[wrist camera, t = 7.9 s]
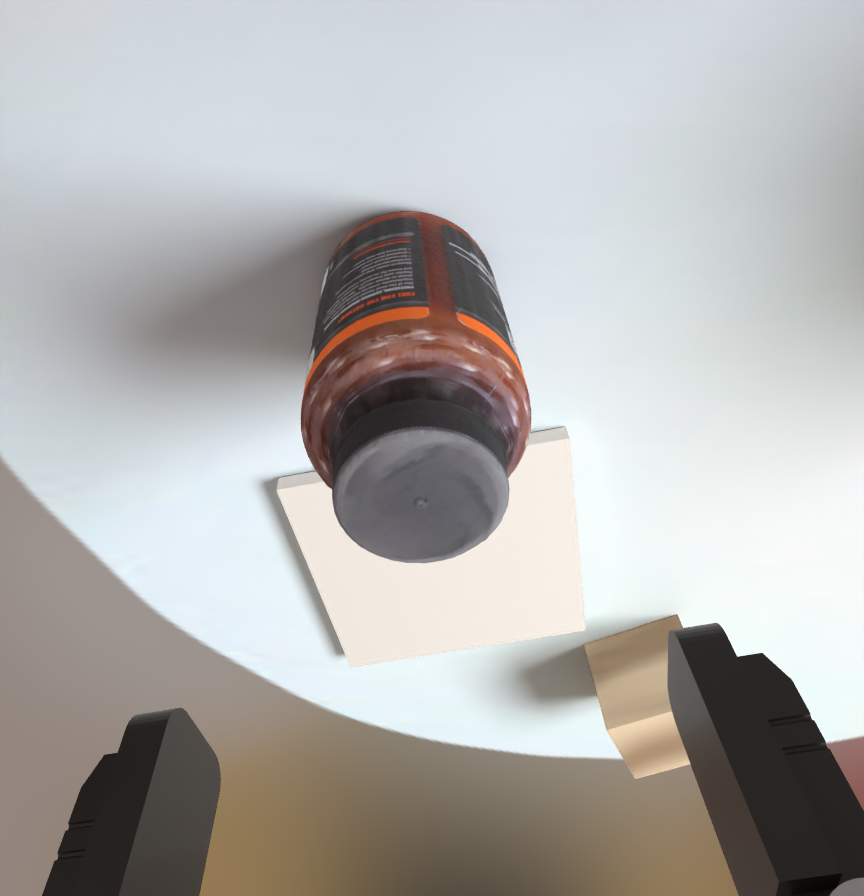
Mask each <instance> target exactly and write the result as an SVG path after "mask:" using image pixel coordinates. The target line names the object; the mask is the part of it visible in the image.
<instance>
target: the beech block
mask: <svg viewBox="0 0 864 896" xmlns="http://www.w3.org/2000/svg"><path fill="white" fill-rule="evenodd" d="M682 628H683V627H682V625H681V622H680V620H679V617H678V615H677V614H676V615H673V616H670V617H667V618H664V619H661V620H658V621H655V622H652V623H649V624H645V625H642V626H639V627H636V628H633V629H630V630H627V631H624V632H621V633H617V634H614V635H611V636H608V637H605V638H602V639H599V640H596V641H593V642H589V643H586V644H584V647H585V651H586V655H587V658H588V662H589V666H590V670H591V673H592V677H593V681H594V685H595V688H596V692H597V696H598V700H599V703H600V707H601V711H602V714H603V718H604V722H605V726H606V729H607V732H608V733H609V735H610V737H611V738H612V740H613V742H614V744H615V745H616V747H617V749H618V750H619V752H620V754H621V756H622V757H623V759H624V761H625V763H626V764H627V766H628V768H629V769H630V771H631V773H632V775H633V776H634V778H635V779H637V778H641V777H644V776H648V775H652V774H656V773H659V772H663V771H667V770H670V769H674V768H678V767H681V766H685V765H688V764H690V761H689V759H688V756H687V753H686V750H685V748H684V745H683V742H682V740H681V737H680V734H679V731H678V729H677V726H676V723H675V720H674V717H673V713H672V709H671V705H670V701H669V695H668V687H667V677H668V634H669V631H670V630H675V629H682Z"/></svg>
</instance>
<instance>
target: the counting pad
mask: <svg viewBox="0 0 864 896" xmlns="http://www.w3.org/2000/svg"><path fill="white" fill-rule="evenodd" d="M508 481H509V490H510V491H509V501H508V507H507V509H506V512H505V514H504V516H503V519H502V521H501V523H500V524H499V525H498V527H497V528H496V529H495V530H494V531H493V533H491V534H490V535H489V537H488V538H487V539H486V540H485V541H483V542H481V543H480V544H479V545H477V546H476V547H474V548H472V549H470V550H469V551H467V552H465V553H463V554H461V555H459V556H456V557H454V558H450V559H447V560H443V561H436V562H430V563H405V562H399V561H392V560H389V559H386V558H383V557H380V556H377V555H375V554H373V553H371V552H369V551H367V550H365V549H364V548H362V547H360V546H359V545H358V544H357V543H355V542H354V541H353V540H352V539H351V538H350V537H349V536H348V535H347V534H346V533H345V531H344V530H343V528H342V527H341V526H340V524H339V522H338V520H337V518H336V515H335V513H334V507H333V500H332V489H331V488H329V487H328V486H327V485H326V484H325V483H324V481H323V480H322V479H321V477H320V476H319V475H318V473H317V472H316V471H314V472H308V473H303V474H297V475H291V476H286V477H280V478H279V479H278V484H277V488H276V491H277V493H278V496H279V498H280V500H281V503H282V505H283V508H284V510H285V512H286V515H287V517H288V519H289V522H290V524H291V527H292V529H293V531H294V534H295V536H296V538H297V541H298V543H299V546H300V548H301V550H302V553H303V555H304V557H305V560H306V562H307V565H308V567H309V569H310V572H311V574H312V577H313V579H314V581H315V584H316V586H317V588H318V591H319V593H320V596H321V598H322V600H323V603H324V605H325V607H326V610H327V612H328V615H329V617H330V619H331V622H332V624H333V626H334V629H335V631H336V634H337V636H338V638H339V641H340V643H341V646H342V648H343V650H344V653H345V655H346V657H347V660H348V662H349V665H350V667H355V666H362V665H368V664H375V663H381V662H387V661H394V660H400V659H407V658H413V657H419V656H426V655H432V654H439V653H445V652H451V651H458V650H464V649H471V648H477V647H484V646H490V645H496V644H503V643H509V642H516V641H522V640H528V639H535V638H541V637H548V636H554V635H560V634H567V633H573V632H580V631H586V624H585V613H584V601H583V589H582V578H581V566H580V554H579V542H578V531H577V519H576V507H575V496H574V484H573V472H572V461H571V449H570V438H569V435H568V432H567V429H566V427H561V428H556V429H550V430H545V431H539V432H533V433H530V435H529V440H528V444H527V447H526V449H525V452H524V454H523V456H522V459H521V460H520V462H519V464H518V466H517V468H516V469H515V471H514V472H513V473H512V474H511V476H510V477H509V478H508Z"/></svg>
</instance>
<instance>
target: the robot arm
mask: <svg viewBox="0 0 864 896" xmlns="http://www.w3.org/2000/svg"><path fill="white" fill-rule="evenodd" d="M667 687H668V695H669V701H670V705H671V709H672V713H673V717H674V720H675V723H676V726H677V729H678V731H679V734H680V737H681V740H682V742H683V745H684V748H685V750H686V753H687V756H688V759H689V761H690V764H691V766H692V769H693V772H694V775H695V778H696V780H697V783H698V786H699V788H700V791H701V794H702V796H703V799H704V802H705V805H706V807H707V810H708V813H709V816H710V818H711V821H712V824H713V826H714V829H715V832H716V835H717V837H718V840H719V843H720V845H721V848H722V851H723V854H724V856H725V859H726V862H727V864H728V867H729V870H730V873H731V875H732V878H733V881H734V883H735V886H736V889H737V892H738V894H739V896H864V811H863V809H862V807H861V805H860V803H859V802H858V800H857V798H856V796H855V794H854V793H853V791H852V789H851V787H850V785H849V783H848V781H847V780H846V778H845V776H844V774H843V772H842V771H841V769H840V767H839V765H838V763H837V762H836V760H835V758H834V756H833V754H832V752H831V751H830V749H828V748H827V746H826V741H825V739H824V738H823V736H822V734H821V732H820V730H819V729H818V727H817V725H816V723H815V721H814V720H812V719H811V716H810V712H809V710H808V708H807V707H806V705H805V703H804V701H803V699H802V697H801V696H800V694H799V692H798V690H797V688H796V687H795V685H794V683H793V681H792V680H791V679H790V678H789V677H788V676H787V675H786V674H785V673H784V672H783V671H782V670H780V669H779V668H778V667H777V666H776V665H775V664H774V663H773V662H772V661H770V660H769V659H768V658H767V657H766V656H765V655H764V654H763V653H759V654H752V655H746V656H740V657H737V656H736V654H735V652H734V650H733V648H732V645H731V643H730V641H729V639H728V637H727V635H726V633H725V632H724V630H723V628H722V627H721V626H720V625H719V624H718V623H713V624H706V625H700V626H694V627H688V628H682V629H675V630H670V631H669V634H668V677H667ZM220 780H221V778H220V767H219V763H218V759H217V757H216V754H215V753H214V751H213V750H212V748H211V747H210V745H209V744H208V742H207V741H206V739H205V738H204V736H203V735H202V734H201V732H200V731H199V729H198V728H197V726H196V725H195V723H194V722H193V720H192V719H191V718H190V716H189V715H188V713H187V712H186V711H185V710H184V709H182V708H175V709H169V710H164V711H157V712H151V713H145V714H139V715H135V716H134V717H133V718H132V719H131V720H130V721H129V723H128V725H127V727H126V730H125V733H124V735H123V738H122V741H121V745H120V748H119V751H118V753H113V754H107V755H104V756H103V758H102V759H101V760H100V762H99V763H98V765H97V766H96V767H95V769H94V770H93V772H92V773H91V775H90V776H89V777H88V779H87V780H86V782H85V783H84V784H83V786H82V787H81V790H80V792H79V795H78V798H77V801H76V803H75V806H74V809H73V812H72V814H71V817H70V820H69V823H68V824H69V829H68V830H67V831H65V834H64V836H63V839H62V842H61V845H60V847H59V850H58V859H57V860H56V861H54V864H53V867H52V870H51V872H50V875H49V878H48V881H47V883H46V886H45V889H44V892H43V894H42V896H199V894H200V889H201V883H202V879H203V874H204V869H205V863H206V859H207V853H208V848H209V843H210V838H211V833H212V828H213V823H214V818H215V813H216V808H217V803H218V798H219V792H220Z"/></svg>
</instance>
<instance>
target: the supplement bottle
mask: <svg viewBox="0 0 864 896" xmlns="http://www.w3.org/2000/svg"><path fill="white" fill-rule="evenodd" d="M530 431H531V407H530V399H529V393H528V389H527V385H526V382H525V378H524V375H523V372H522V368H521V364H520V361H519V358H518V354H517V351H516V348H515V344H514V341H513V338H512V335H511V331H510V328H509V324H508V321H507V318H506V315H505V312H504V309H503V305H502V302H501V298H500V295H499V292H498V289H497V286H496V282H495V279H494V275H493V272H492V270H491V268H490V265H489V263H488V261H487V259H486V257H485V255H484V254H483V252H482V251H481V249H480V248H479V246H478V245H477V243H476V242H475V241H474V240H473V239H472V238H471V237H470V235H469V234H468V233H467V232H465V231H464V230H463V229H461V228H460V227H458V226H457V225H455V224H454V223H452V222H450V221H448V220H446V219H443V218H441V217H438V216H435V215H432V214H427V213H422V212H413V211H401V212H394V213H389V214H386V215H382V216H379V217H376V218H374V219H372V220H370V221H368V222H365V223H364V224H362V225H361V226H359V227H358V228H356V229H355V230H353V231H352V232H351V233H350V234H349V235H347V236H346V238H345V239H344V240H343V241H342V242H341V244H340V245H339V246H338V248H337V249H336V250H335V252H334V254H333V256H332V258H331V260H330V262H329V265H328V267H327V270H326V273H325V276H324V279H323V284H322V290H321V296H320V301H319V306H318V312H317V317H316V324H315V330H314V336H313V340H312V347H311V352H310V358H309V364H308V370H307V376H306V381H305V388H304V395H303V400H302V407H301V432H302V437H303V442H304V446H305V449H306V451H307V454H308V457H309V458H310V461H311V463H312V465H313V467H314V469H315V470H316V472H317V473H318V475H319V476H320V477H321V479H322V480H323V481H324V483H325V484H326V485H327V486H328V487H329V488H331V489H332V500H333V507H334V513H335V515H336V518H337V520H338V522H339V524H340V526H341V527H342V528H343V530H344V531H345V533H346V534H347V535H348V536H349V537H350V538H351V539H352V540H353V541H354V542H355V543H357V544H358V545H359V546H360V547H362V548H364V549H365V550H367V551H369V552H371V553H373V554H375V555H377V556H380V557H383V558H386V559H389V560H392V561H399V562H405V563H430V562H436V561H443V560H447V559H450V558H454V557H456V556H459V555H461V554H463V553H465V552H467V551H469V550H470V549H472V548H474V547H476V546H477V545H479V544H480V543H481V542H483V541H485V540H486V539H487V538H488V537H489V535H490V534H491V533H493V531H494V530H495V529H496V528H497V527H498V525H499V524H500V523H501V521H502V519H503V516H504V514H505V512H506V509H507V507H508V501H509V491H510V490H509V481H508V478H509V477H510V476H511V474H512V473H513V472H514V471H515V469H516V468H517V466H518V464H519V462H520V460H521V459H522V456H523V454H524V452H525V449H526V447H527V444H528V440H529V435H530Z"/></svg>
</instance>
